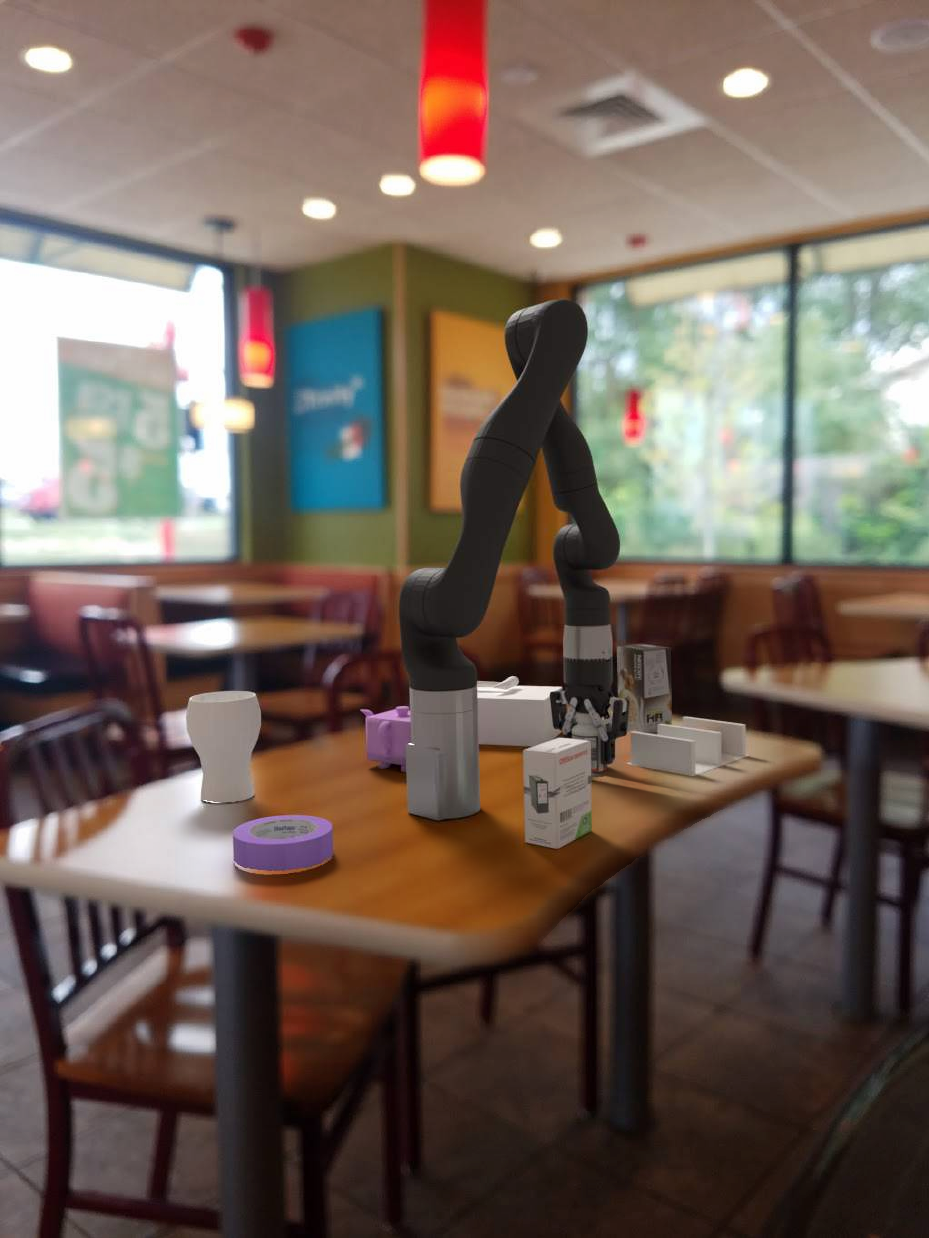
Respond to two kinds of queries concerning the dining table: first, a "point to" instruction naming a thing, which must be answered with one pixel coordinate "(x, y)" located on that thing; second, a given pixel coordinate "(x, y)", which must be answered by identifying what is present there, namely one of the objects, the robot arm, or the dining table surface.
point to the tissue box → (514, 713)
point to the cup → (224, 742)
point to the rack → (689, 746)
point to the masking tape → (283, 842)
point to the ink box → (557, 792)
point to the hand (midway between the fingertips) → (589, 760)
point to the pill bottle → (589, 733)
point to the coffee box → (645, 685)
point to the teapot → (388, 736)
